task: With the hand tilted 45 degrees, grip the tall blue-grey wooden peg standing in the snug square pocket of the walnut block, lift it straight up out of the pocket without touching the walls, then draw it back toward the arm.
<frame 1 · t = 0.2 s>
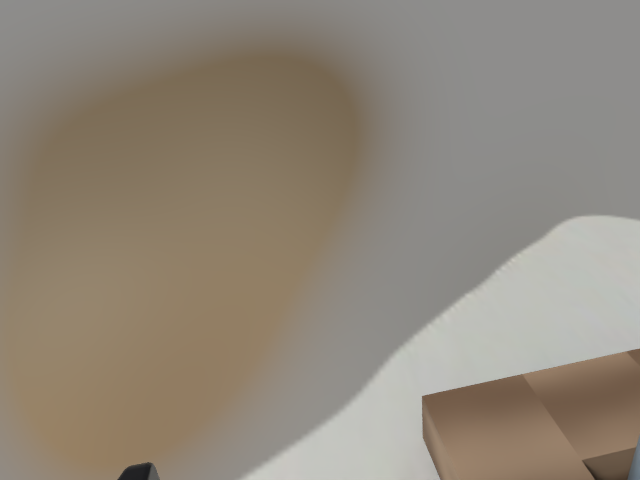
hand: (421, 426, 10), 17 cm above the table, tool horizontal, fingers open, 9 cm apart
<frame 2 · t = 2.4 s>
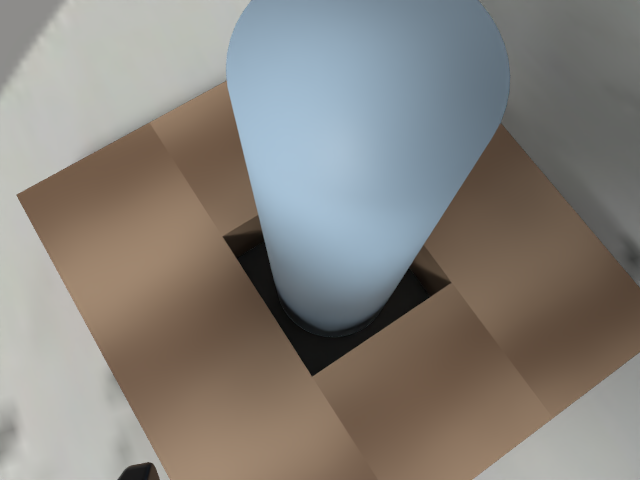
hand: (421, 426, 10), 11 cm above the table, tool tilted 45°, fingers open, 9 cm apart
peg: (342, 218, 16), in the pocket block
pocket block: (332, 280, 22), on the table
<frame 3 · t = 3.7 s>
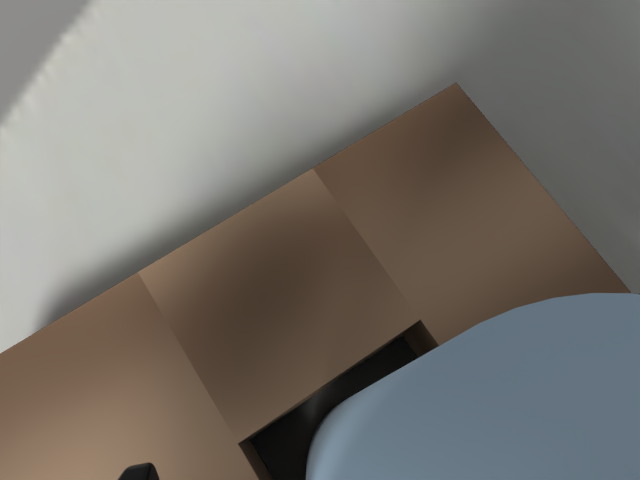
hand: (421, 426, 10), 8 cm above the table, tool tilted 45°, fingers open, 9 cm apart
pocket block: (381, 468, 17), on the table
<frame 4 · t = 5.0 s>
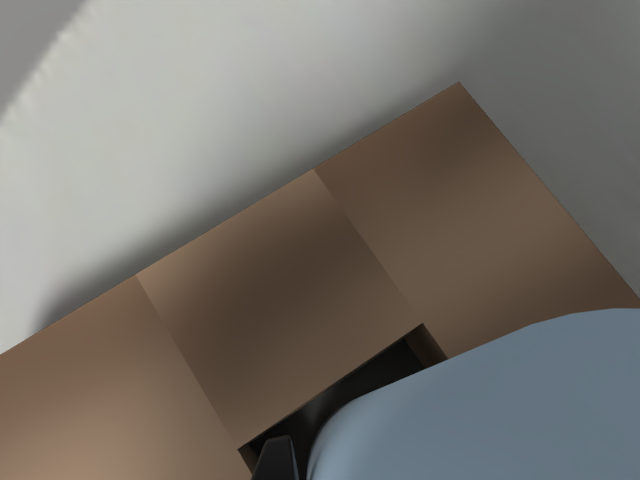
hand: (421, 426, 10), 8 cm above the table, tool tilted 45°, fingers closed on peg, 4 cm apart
pocket block: (382, 472, 16), on the table
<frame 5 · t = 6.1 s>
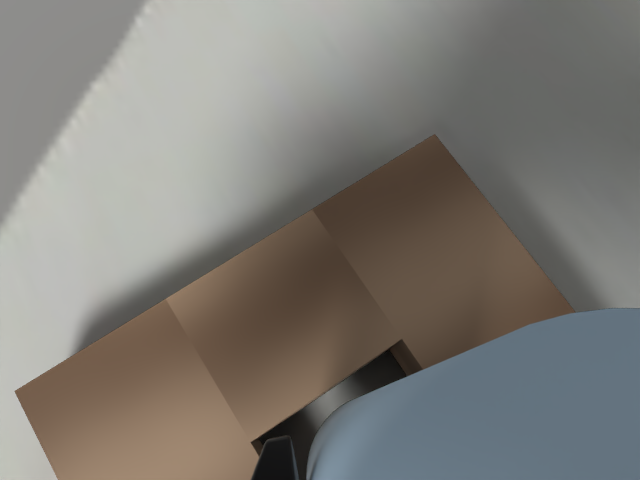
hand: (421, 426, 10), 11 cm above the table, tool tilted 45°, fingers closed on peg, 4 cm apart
pocket block: (370, 462, 20), on the table
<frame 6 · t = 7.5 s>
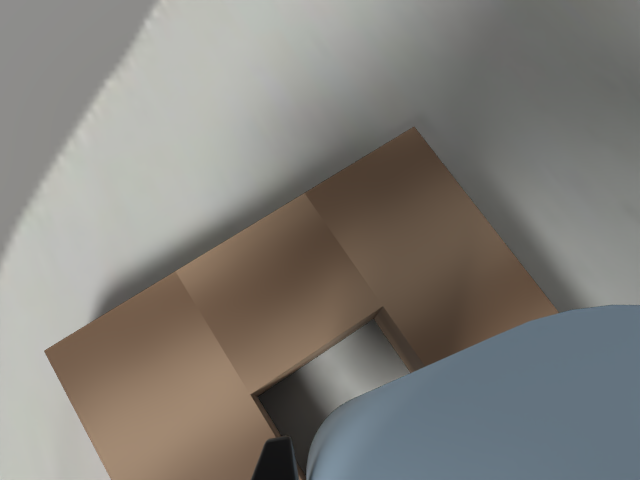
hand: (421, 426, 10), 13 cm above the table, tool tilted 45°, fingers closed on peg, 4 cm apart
pocket block: (356, 417, 22), on the table
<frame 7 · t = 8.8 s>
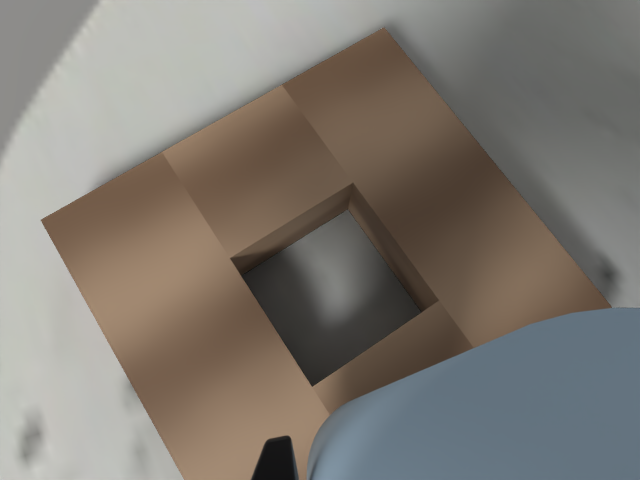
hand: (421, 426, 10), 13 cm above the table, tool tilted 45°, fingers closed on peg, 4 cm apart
pocket block: (330, 295, 24), on the table
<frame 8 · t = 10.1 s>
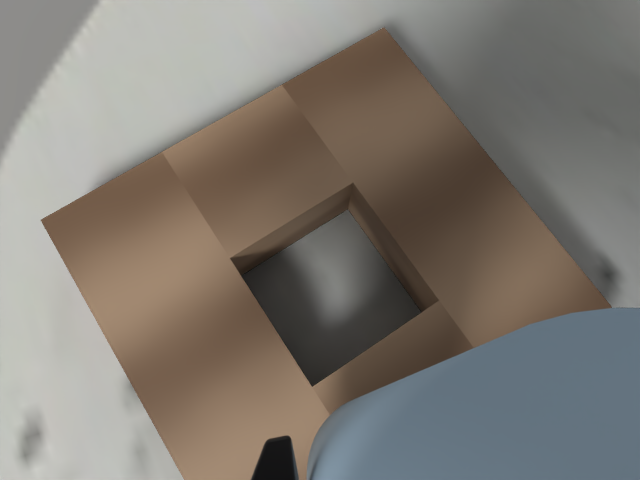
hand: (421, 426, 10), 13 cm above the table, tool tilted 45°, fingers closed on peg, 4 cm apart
pocket block: (330, 295, 24), on the table
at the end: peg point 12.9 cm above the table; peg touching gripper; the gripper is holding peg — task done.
